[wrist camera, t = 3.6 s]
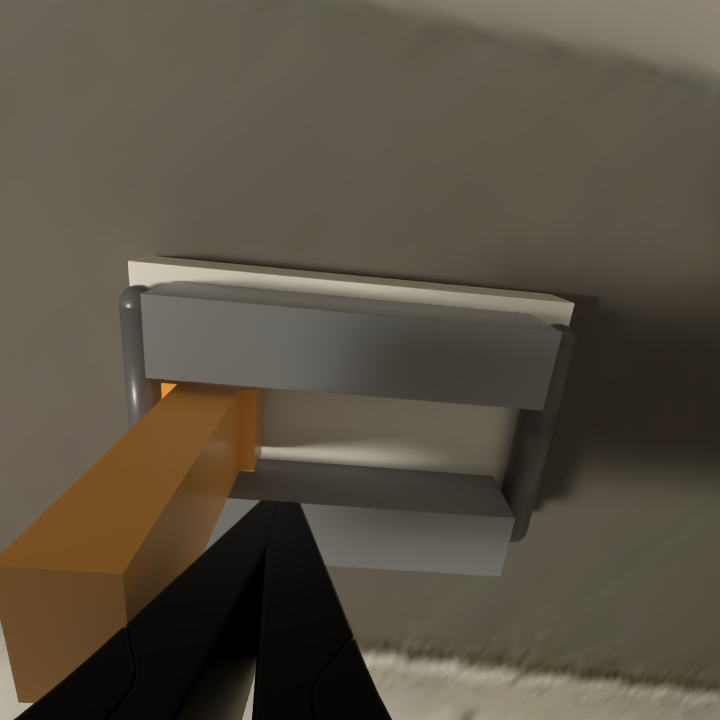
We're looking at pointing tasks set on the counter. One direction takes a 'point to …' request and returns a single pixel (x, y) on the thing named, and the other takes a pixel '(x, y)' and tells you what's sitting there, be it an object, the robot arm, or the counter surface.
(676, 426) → the counter surface
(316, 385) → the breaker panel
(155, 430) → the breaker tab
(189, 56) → the counter surface
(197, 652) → the robot arm
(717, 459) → the counter surface
